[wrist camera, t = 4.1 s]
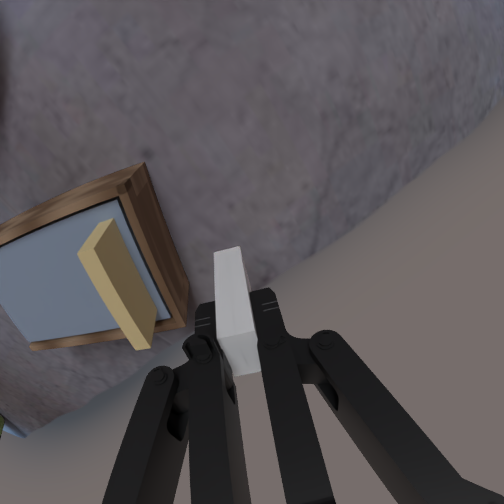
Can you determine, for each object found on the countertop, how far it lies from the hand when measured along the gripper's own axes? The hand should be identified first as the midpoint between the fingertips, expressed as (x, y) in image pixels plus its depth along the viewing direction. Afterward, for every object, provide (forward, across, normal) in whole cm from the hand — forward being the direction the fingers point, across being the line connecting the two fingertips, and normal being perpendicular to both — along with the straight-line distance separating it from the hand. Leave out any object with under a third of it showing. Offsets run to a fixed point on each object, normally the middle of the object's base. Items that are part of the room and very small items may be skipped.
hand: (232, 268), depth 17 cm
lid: (+4, -15, 0) cm, 15 cm away
